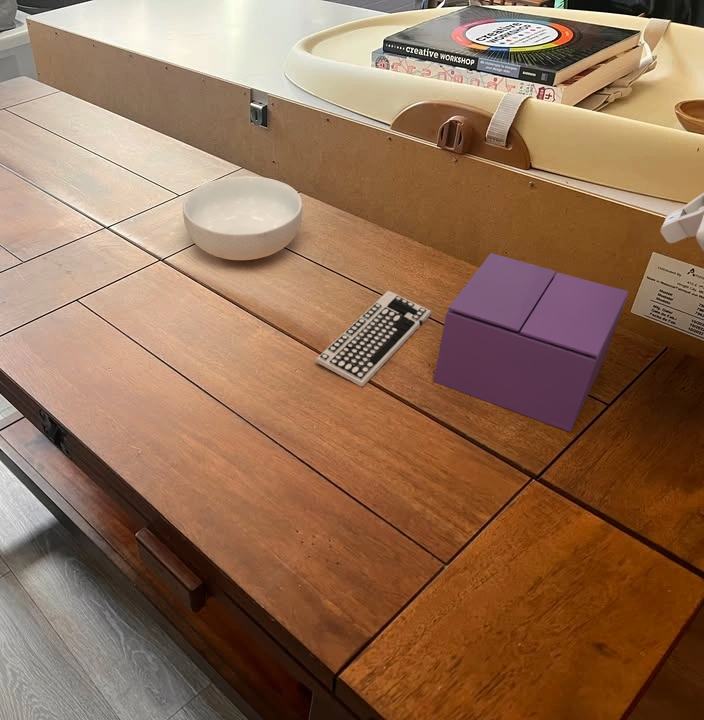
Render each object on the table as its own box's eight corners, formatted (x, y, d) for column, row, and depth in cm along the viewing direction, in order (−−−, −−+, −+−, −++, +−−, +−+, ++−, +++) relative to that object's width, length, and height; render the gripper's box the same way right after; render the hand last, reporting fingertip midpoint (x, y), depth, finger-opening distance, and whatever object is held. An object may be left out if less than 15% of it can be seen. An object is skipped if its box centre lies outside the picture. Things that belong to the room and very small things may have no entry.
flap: (628, 293, 81) (628, 291, 80) (597, 357, 73) (597, 355, 72) (556, 274, 84) (557, 272, 84) (519, 333, 76) (520, 331, 76)
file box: (602, 365, 87) (629, 291, 80) (570, 432, 79) (598, 355, 72) (474, 324, 94) (490, 252, 87) (433, 381, 85) (447, 307, 79)
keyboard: (362, 387, 85) (364, 376, 84) (315, 366, 88) (315, 356, 87) (431, 315, 95) (432, 304, 94) (386, 298, 98) (387, 288, 97)
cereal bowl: (187, 219, 116) (185, 176, 112) (296, 216, 116) (298, 173, 112) (182, 279, 103) (179, 233, 99) (305, 277, 103) (307, 231, 98)
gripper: (868, 242, 52) (663, 314, 62) (871, 138, 65) (701, 213, 75) (821, 166, 51) (622, 252, 61) (834, 76, 64) (668, 160, 75)
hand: (666, 230), depth 68 cm, fingers closed
